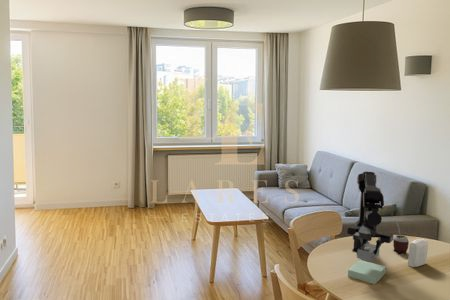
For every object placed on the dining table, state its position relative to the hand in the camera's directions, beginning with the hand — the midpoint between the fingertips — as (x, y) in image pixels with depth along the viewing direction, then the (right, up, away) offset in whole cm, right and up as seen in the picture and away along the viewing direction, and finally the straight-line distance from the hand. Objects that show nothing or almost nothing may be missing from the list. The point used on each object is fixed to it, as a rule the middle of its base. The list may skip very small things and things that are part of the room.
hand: (368, 252), depth 192 cm
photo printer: (+27, -9, +13) cm, 32 cm away
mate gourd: (+25, -7, +29) cm, 39 cm away
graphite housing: (0, -2, 0) cm, 2 cm away
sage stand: (0, -10, +1) cm, 10 cm away
